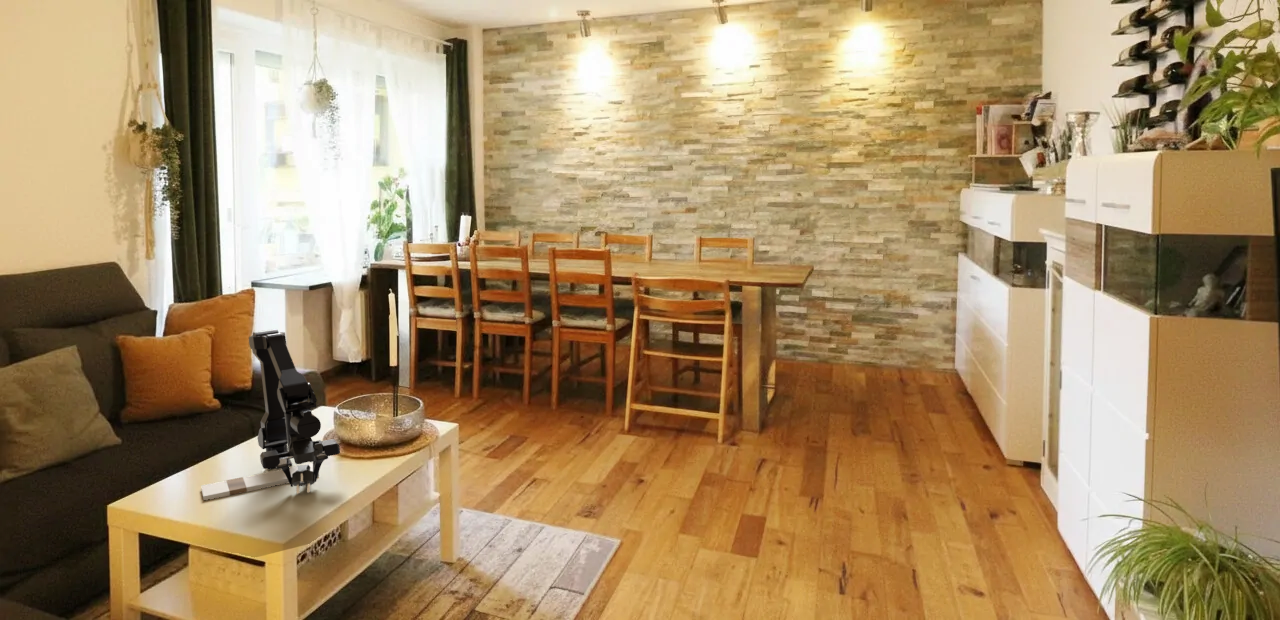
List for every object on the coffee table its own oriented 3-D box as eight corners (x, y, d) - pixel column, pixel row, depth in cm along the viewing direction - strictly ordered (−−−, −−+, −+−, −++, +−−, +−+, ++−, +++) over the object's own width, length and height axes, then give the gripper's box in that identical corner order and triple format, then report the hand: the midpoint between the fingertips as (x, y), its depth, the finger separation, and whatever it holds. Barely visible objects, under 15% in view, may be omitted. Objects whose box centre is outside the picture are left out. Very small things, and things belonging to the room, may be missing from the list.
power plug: (319, 472, 213) (313, 461, 202) (320, 499, 210) (313, 489, 199) (297, 475, 211) (289, 463, 201) (297, 502, 208) (289, 492, 198)
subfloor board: (201, 489, 205) (201, 485, 205) (313, 467, 220) (312, 462, 220) (203, 500, 198) (203, 496, 198) (318, 476, 213) (318, 472, 213)
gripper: (263, 443, 190) (269, 503, 193) (342, 429, 200) (347, 485, 202) (257, 431, 199) (263, 488, 202) (332, 418, 209) (337, 472, 212)
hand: (303, 483), depth 204 cm, fingers closed on power plug, 5 cm apart
